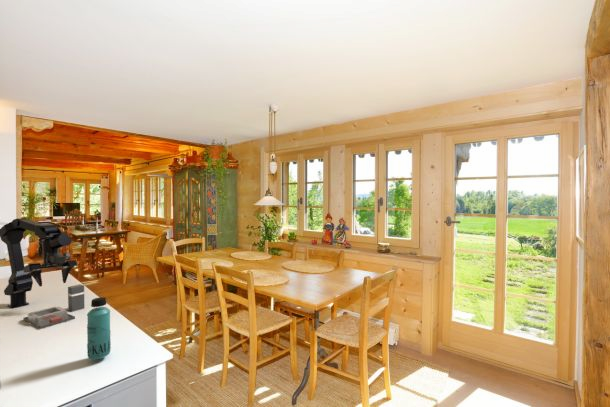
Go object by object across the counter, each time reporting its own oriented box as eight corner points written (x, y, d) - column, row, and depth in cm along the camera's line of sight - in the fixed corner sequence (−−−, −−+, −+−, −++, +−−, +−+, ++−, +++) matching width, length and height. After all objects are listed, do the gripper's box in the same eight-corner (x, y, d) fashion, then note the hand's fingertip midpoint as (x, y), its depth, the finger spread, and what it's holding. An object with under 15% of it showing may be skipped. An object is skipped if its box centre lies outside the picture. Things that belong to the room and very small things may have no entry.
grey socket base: (23, 320, 134) (23, 313, 134) (56, 311, 144) (56, 304, 144) (40, 329, 125) (40, 321, 125) (74, 318, 135) (74, 312, 135)
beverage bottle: (94, 354, 104) (93, 295, 104) (115, 353, 104) (114, 294, 104) (82, 365, 97) (81, 302, 97) (104, 364, 98) (103, 301, 98)
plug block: (68, 310, 146) (67, 286, 145) (80, 306, 150) (80, 284, 150) (72, 311, 143) (71, 288, 143) (84, 308, 148) (84, 285, 148)
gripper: (34, 248, 133) (36, 285, 130) (82, 246, 149) (85, 278, 146) (22, 254, 137) (24, 289, 134) (69, 251, 154) (72, 282, 151)
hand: (53, 284), depth 141 cm, fingers open, 9 cm apart
